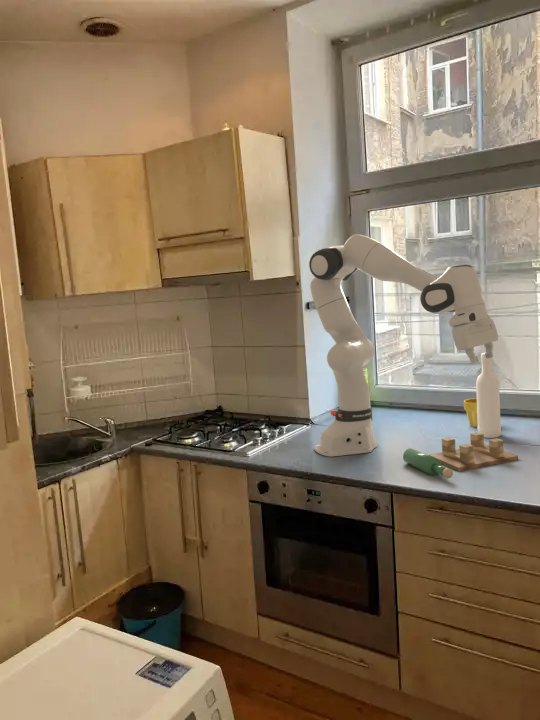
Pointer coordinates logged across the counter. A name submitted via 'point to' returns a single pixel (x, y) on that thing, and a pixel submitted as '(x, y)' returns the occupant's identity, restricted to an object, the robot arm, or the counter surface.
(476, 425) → the plant pot
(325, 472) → the counter surface
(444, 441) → the bottle rest
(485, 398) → the bottle
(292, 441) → the counter surface
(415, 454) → the bottle
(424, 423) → the counter surface
